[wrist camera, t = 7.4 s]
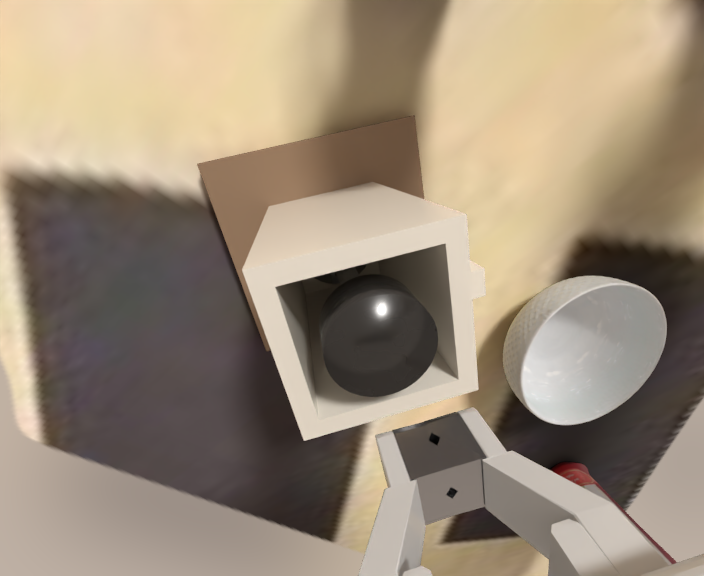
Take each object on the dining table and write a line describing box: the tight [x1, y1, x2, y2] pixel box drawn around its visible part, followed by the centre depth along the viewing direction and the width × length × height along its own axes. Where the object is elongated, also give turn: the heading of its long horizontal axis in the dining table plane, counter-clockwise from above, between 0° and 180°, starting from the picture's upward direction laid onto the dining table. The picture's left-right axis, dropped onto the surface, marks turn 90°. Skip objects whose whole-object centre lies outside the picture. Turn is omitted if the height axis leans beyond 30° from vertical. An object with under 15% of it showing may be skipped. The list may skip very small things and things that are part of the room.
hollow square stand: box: [197, 116, 486, 441], centre depth 23 cm, size 18×18×18 cm
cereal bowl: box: [503, 276, 667, 425], centre depth 37 cm, size 17×17×7 cm
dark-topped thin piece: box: [314, 263, 438, 397], centre depth 22 cm, size 6×6×17 cm
